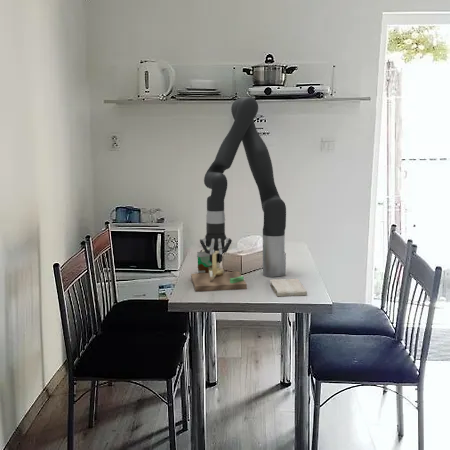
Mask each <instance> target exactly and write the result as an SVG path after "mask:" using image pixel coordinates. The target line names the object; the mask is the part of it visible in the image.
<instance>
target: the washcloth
mask: <svg viewBox="0 0 450 450" xmlns="http://www.w3.org/2000/svg"><path fill="white" fill-rule="evenodd" d="M269 284H270V288H271V290H272V291H273V293H274V294H275V296H276V297H299V296H300V297H301V296H304V297H305V296H307V295H308V292H307V289H306V288H305V287H304V286H303V284H302V283H301V282H300V280H299V279H298V278H287V279H285V278H275V279H270V280H269Z"/></svg>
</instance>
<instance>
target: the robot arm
mask: <svg viewBox="0 0 450 450" xmlns="http://www.w3.org/2000/svg"><path fill="white" fill-rule="evenodd" d="M230 111H231V114H232V118H233V120H234V121H233V124H232V125H231V127H230V129H229V131H228V133H227V134H226V136H225V137H224V139H223V140H222V143H221V144H220V146H219V149H218V151H217V154H216V156H215V159H214V160H213V162H212V163H211V164H210V166H209V167H208V169H207V170H206V172H205V174H204V177H203V182H204V185H205V187H206V188H208V189H210V190H211V191H210V195H209V196H208V197H207V198H206V215H205V216H206V217H205V218H206V227H205V228H206V229H205V230H206V232H205V233H206V234H205V235H204V238H202V239H201V238H200V239H199V243H200V244H201V246H202V250H203V249H204V250H205V252H206V253H208V254H209V258H210V262H211V263H212V255H213V248H214V246H218V250H219V253H218V262H219V264H221V262H223V256H222V254H223V253H224V254H225V253H227V251H229V248H230V245H231V244H232V242H233V240H232V238H231V237H230V238H229V237H227V235H226V214H225V197H226V195H227V190H228V179H227V177H226V175H225V173H224V172H225V171H226V170H228V169H230V168H231V167H232V164H233V163H234V160H235V158H236V155H237V152H238V150H239V147H240V146H241V143H242V145H243V148H244V152H245V155H246V159H247V162H248V166H249V169H250V171H251V174H252V177H253V180H254V182H255V184H256V186H257V189H258V195H259V199H260V203H261V209H262V212H263V227H262V275H263V276H265V277H270V278H271V277H272V278H276V277H284V276H286V275H287V274H286V267H287V266H286V265H287V261H286V260H287V253H286V252H285V249H286V247H285V243H286V242H285V239H286V238H285V237H286V236H285V235H286V234H285V233H286V227H287V207H286V206H287V205H286V203H285V202H284V200H283V199H282V198H281V196H280V194H279V192H278V188H277V186H276V183H275V178H274V168H273V163H272V159H271V154H270V151H269V148H268V147H267V145H266V143H265V141H264V139H262V137H261V135H260V134H259V132H258V130H257V127H256V124H255V120H254V119H255V117H256V116H257V114H258V112H259V104H258V102H257V100H256V99H255V97H252V96H243V97H240V98H239V97H238V98H237V99H235V100H234V101H233V102H232V104H231V108H230ZM206 240H207V242H208V243H209V244H210V249H209V250H207V248H206V242H205V241H206ZM224 241H225V247H224V249H223V250H222V243H223V242H224Z"/></svg>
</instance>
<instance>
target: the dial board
mask: <svg viewBox="0 0 450 450" xmlns="http://www.w3.org/2000/svg"><path fill="white" fill-rule="evenodd" d="M190 277H191V278H190V279H191V281H192V285H193V288H194V291H195V292H211V291H214V292H215V291H230V290H231V291H232V290H234V291H235V290H247V287H248V286H247V282H246V281H245V278H244V276H242V274H241V273H240V272H239V271H226V272H224V271H223V275H221V276H216V277H215V278H214V280H213V281H210V275H209V273H198V272H197V273H190Z"/></svg>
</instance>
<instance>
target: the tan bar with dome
mask: <svg viewBox="0 0 450 450" xmlns="http://www.w3.org/2000/svg"><path fill="white" fill-rule="evenodd" d="M218 253H219V251H215V252H214V253H213V255H212V268H210V269H209V275H210V281H213V280H214V278H215V277H216V276H221V275H223V272H224V268H222V267H220V263H219V262H218Z"/></svg>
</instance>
